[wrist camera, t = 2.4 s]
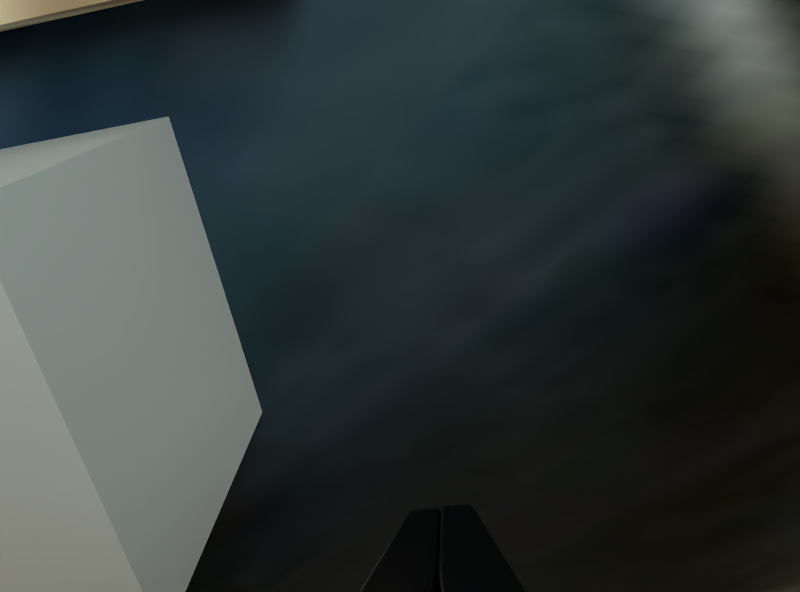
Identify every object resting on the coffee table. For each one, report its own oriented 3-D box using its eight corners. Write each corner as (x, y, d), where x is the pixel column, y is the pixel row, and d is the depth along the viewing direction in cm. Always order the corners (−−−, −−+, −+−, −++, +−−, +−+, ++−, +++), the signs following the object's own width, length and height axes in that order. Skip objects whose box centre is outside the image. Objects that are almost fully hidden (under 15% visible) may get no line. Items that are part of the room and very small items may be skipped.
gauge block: (169, 116, 19) (-36, 202, 11) (262, 410, 23) (164, 639, 15) (-83, 165, 20) (-447, 278, 12) (47, 439, 24) (-157, 670, 16)
